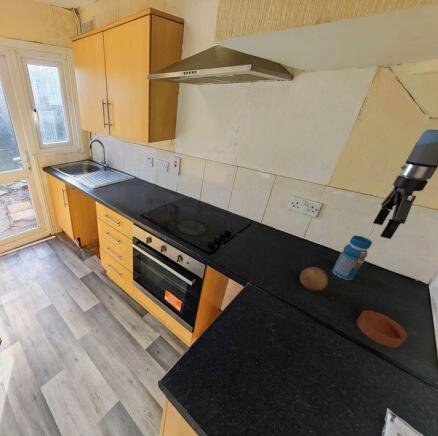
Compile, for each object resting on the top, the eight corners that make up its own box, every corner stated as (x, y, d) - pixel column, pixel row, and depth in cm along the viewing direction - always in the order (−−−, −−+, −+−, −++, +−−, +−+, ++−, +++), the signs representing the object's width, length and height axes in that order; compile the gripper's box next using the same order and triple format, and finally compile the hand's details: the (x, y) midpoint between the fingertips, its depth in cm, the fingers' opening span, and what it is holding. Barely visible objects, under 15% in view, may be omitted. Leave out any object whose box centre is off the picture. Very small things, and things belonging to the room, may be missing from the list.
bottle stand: (395, 328, 82) (401, 321, 80) (405, 354, 73) (412, 347, 71) (354, 312, 87) (359, 305, 86) (358, 334, 78) (364, 327, 77)
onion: (316, 299, 92) (327, 280, 88) (292, 284, 100) (300, 266, 95) (326, 290, 97) (336, 272, 93) (302, 277, 105) (310, 259, 100)
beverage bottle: (331, 275, 107) (351, 239, 98) (330, 266, 113) (349, 232, 104) (354, 283, 103) (377, 246, 94) (351, 273, 109) (372, 238, 100)
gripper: (389, 168, 89) (363, 216, 99) (409, 183, 71) (374, 240, 80) (416, 172, 86) (386, 221, 95) (444, 188, 67) (403, 247, 77)
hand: (381, 230), depth 88 cm, fingers open, 13 cm apart
